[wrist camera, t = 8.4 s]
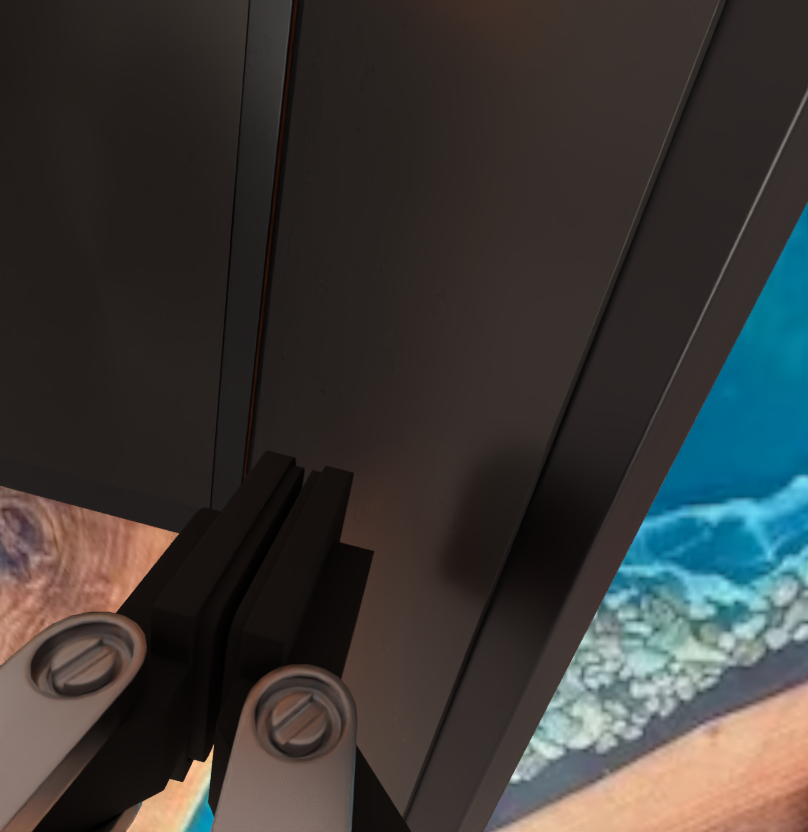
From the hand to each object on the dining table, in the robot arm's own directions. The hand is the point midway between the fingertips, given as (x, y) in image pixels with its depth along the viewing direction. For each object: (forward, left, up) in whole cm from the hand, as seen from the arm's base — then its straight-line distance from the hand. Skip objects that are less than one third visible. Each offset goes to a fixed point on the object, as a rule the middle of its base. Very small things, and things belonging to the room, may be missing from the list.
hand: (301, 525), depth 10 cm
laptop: (-14, 0, -13) cm, 19 cm away
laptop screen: (-1, 0, -5) cm, 5 cm away
